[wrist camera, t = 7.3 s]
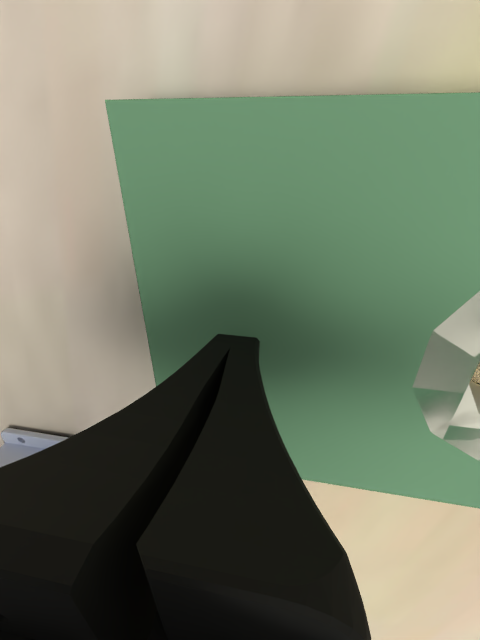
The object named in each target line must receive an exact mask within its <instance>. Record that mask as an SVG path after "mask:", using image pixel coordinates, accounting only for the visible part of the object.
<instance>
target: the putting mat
mask: <svg viewBox="0 0 480 640" xmlns="http://www.w3.org/2000/svg"><path fill="white" fill-rule="evenodd" d="M105 103H106V109H107V114H108V120H109V125H110V131H111V136H112V142H113V148H114V153H115V159H116V164H117V170H118V175H119V181H120V187H121V192H122V198H123V203H124V209H125V215H126V220H127V226H128V231H129V237H130V242H131V248H132V254H133V259H134V265H135V270H136V276H137V282H138V287H139V293H140V298H141V304H142V309H143V315H144V321H145V326H146V332H147V337H148V343H149V348H150V354H151V360H152V365H153V371H154V376H155V382H156V387H157V386H158V385H159V384H160V383H162V382H163V381H164V380H166V379H167V378H168V377H169V376H171V375H172V374H173V373H175V372H176V371H177V370H178V369H179V368H180V367H182V366H183V365H184V364H185V363H186V362H187V361H189V360H190V359H191V358H192V357H193V356H194V355H195V354H196V353H198V352H199V351H200V350H201V349H202V348H203V347H204V346H205V345H206V344H207V343H208V342H209V341H210V340H211V339H213V338H214V337H215V336H216V335H217V334H226V335H236V336H246V337H256V338H257V339H258V340H259V341H260V348H259V367H260V372H261V377H262V382H263V386H264V390H265V394H266V397H267V400H268V404H269V407H270V410H271V413H272V415H273V418H274V421H275V423H276V426H277V428H278V431H279V433H280V436H281V438H282V440H283V443H284V445H285V447H286V449H287V451H288V453H289V455H290V457H291V459H292V461H293V463H294V465H295V467H296V469H297V471H298V473H299V475H300V477H301V479H303V480H309V481H315V482H322V483H328V484H334V485H340V486H346V487H352V488H358V489H364V490H370V491H377V492H383V493H389V494H395V495H401V496H407V497H413V498H419V499H425V500H432V501H438V502H444V503H450V504H456V505H462V506H468V507H474V508H480V384H477V383H475V382H473V381H472V380H471V378H472V376H473V374H474V372H475V370H476V368H477V366H478V364H479V362H480V93H431V94H380V95H330V96H279V97H229V98H179V99H128V100H105Z"/></svg>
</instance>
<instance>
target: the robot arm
mask: <svg viewBox="0 0 480 640" xmlns="http://www.w3.org/2000/svg"><path fill="white" fill-rule="evenodd" d="M259 348H260V341H259V340H258V339H257V338H256V337H246V336H236V335H226V334H217V335H216V336H215V337H214V338H213V339H211V340H210V341H209V342H208V343H207V344H206V345H205V346H204V347H203V348H202V349H201V350H200V351H199V352H198V353H196V354H195V355H194V356H193V357H192V358H191V359H190V360H189V361H187V362H186V363H185V364H184V365H183V366H182V367H180V368H179V369H178V370H177V371H176V372H175V373H173V374H172V375H171V376H169V377H168V378H167V379H166V380H164V381H163V382H162V383H160V384H159V385H158V386H157V387H155V388H154V389H153V390H151V391H150V392H148V393H147V394H145V395H144V396H143V397H141V398H139V399H138V400H136V401H135V402H133V403H132V404H130V405H129V406H127V407H125V408H124V409H122V410H120V411H119V412H117V413H115V414H113V415H111V416H110V417H108V418H106V419H104V420H102V421H101V422H99V423H97V424H95V425H93V426H92V427H90V428H88V429H86V430H84V431H82V432H80V433H78V434H76V435H74V436H72V437H70V438H68V437H62V436H56V435H50V434H43V433H37V432H31V431H25V430H19V429H12V428H6V429H4V430H3V431H2V432H1V437H2V439H3V441H4V442H5V443H4V444H3V445H2V446H1V447H0V640H371V635H370V631H369V626H368V621H367V617H366V613H365V609H364V605H363V602H362V598H361V595H360V592H359V589H358V585H357V582H356V579H355V576H354V573H353V571H352V568H351V565H350V562H349V559H348V556H347V553H346V551H345V550H344V548H343V547H342V545H341V544H340V542H339V541H338V539H337V537H336V536H335V534H334V533H333V531H332V530H331V528H330V527H329V525H328V523H327V522H326V520H325V519H324V517H323V515H322V514H321V512H320V511H319V509H318V507H317V506H316V504H315V502H314V500H313V499H312V497H311V495H310V493H309V492H308V490H307V488H306V486H305V485H304V483H303V481H302V479H301V477H300V475H299V473H298V471H297V469H296V467H295V465H294V463H293V461H292V459H291V457H290V455H289V453H288V451H287V449H286V447H285V445H284V443H283V440H282V438H281V436H280V433H279V431H278V428H277V426H276V423H275V421H274V418H273V415H272V413H271V410H270V407H269V404H268V400H267V397H266V394H265V390H264V386H263V382H262V377H261V372H260V367H259Z"/></svg>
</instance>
